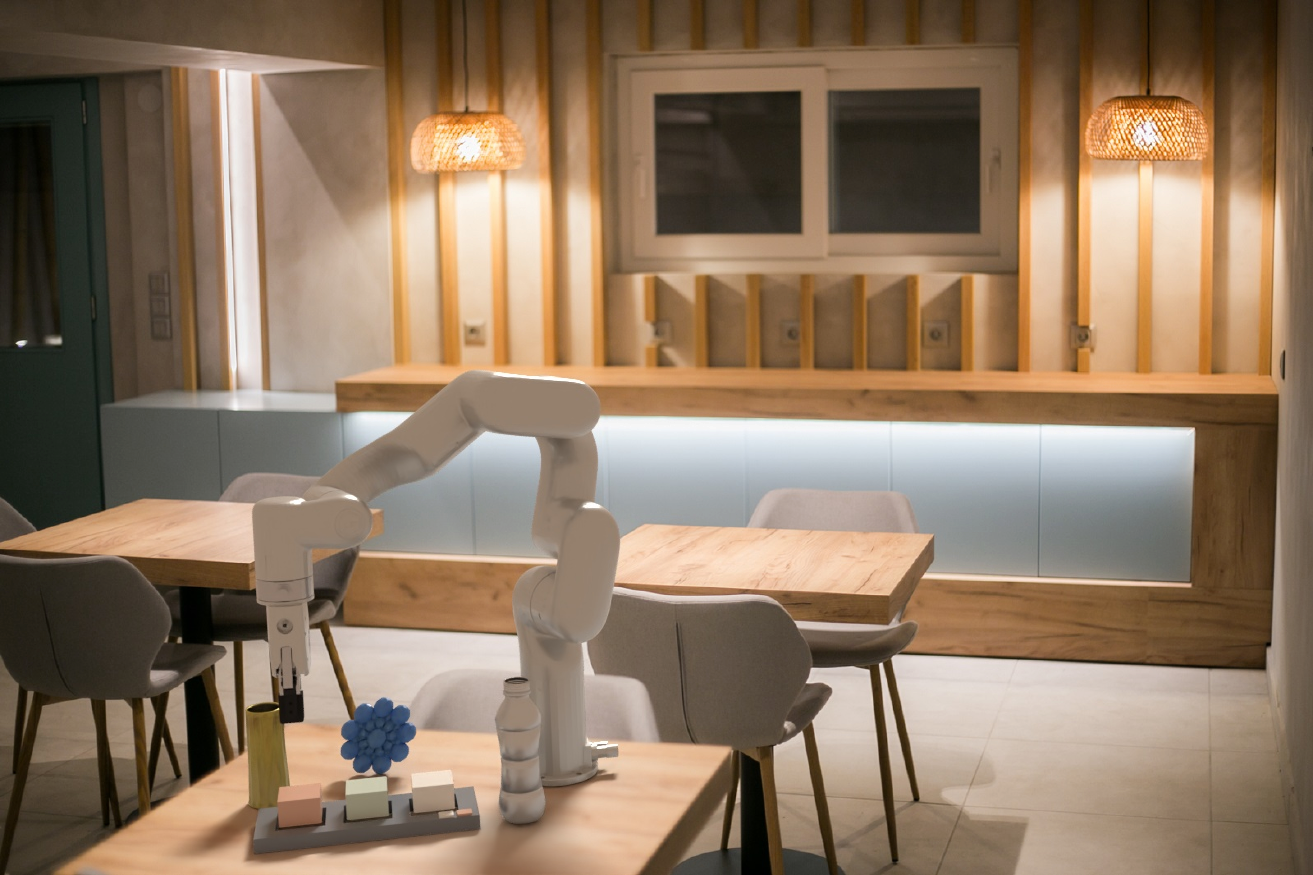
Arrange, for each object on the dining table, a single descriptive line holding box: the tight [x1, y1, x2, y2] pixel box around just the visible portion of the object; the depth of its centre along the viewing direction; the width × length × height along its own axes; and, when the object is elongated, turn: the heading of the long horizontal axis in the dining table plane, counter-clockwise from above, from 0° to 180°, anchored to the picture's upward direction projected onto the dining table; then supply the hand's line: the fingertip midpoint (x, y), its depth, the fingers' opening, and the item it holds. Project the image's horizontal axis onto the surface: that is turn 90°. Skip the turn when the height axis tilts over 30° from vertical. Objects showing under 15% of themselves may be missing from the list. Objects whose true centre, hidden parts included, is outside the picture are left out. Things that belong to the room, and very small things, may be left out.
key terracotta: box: [277, 782, 323, 829], centre depth 197 cm, size 6×6×4 cm
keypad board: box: [252, 785, 481, 855], centre depth 199 cm, size 30×11×2 cm, turn 102°
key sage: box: [345, 776, 390, 821], centre depth 199 cm, size 6×6×4 cm
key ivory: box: [410, 769, 456, 814], centre depth 201 cm, size 6×6×4 cm
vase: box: [245, 701, 291, 810], centre depth 208 cm, size 6×6×14 cm
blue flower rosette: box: [340, 696, 417, 775], centre depth 219 cm, size 12×7×12 cm, turn 93°
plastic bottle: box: [494, 676, 547, 825], centre depth 198 cm, size 6×7×20 cm
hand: (292, 721), depth 195 cm, fingers closed
